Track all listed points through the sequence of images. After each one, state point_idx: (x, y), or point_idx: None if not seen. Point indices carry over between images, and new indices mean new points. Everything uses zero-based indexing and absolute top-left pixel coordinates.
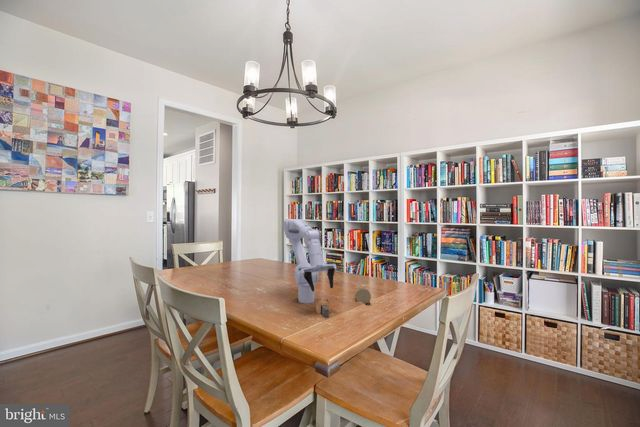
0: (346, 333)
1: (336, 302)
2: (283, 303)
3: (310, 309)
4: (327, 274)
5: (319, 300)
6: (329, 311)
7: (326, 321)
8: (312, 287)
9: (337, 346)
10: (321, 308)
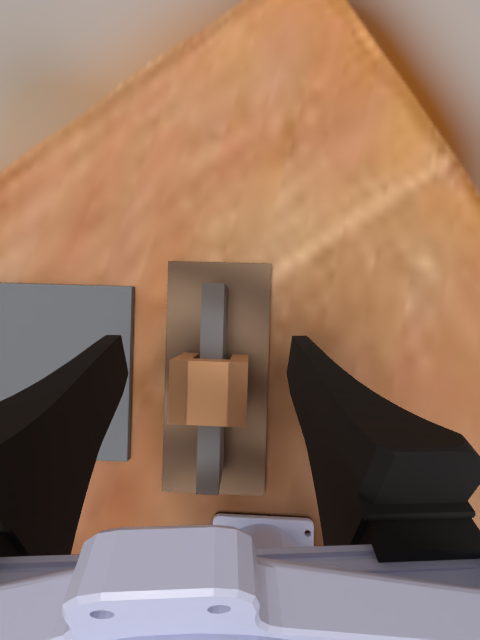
0: (174, 144)
1: None
2: None
3: None
4: (66, 545)
5: (224, 412)
6: (184, 352)
7: None
8: (313, 344)
9: (247, 39)
10: None
